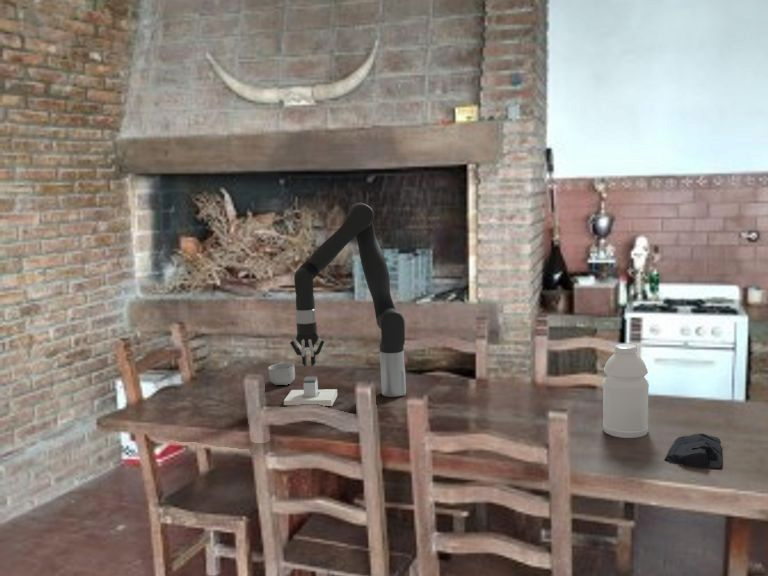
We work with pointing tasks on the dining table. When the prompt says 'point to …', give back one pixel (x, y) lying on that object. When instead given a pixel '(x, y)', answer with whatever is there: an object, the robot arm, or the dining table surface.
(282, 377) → the teacup
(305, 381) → the plug
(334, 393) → the socket plate
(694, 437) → the dark slate chunk
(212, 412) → the dining table surface
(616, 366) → the bottle
